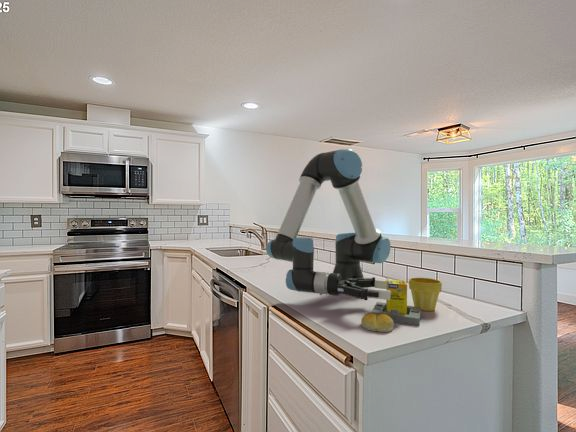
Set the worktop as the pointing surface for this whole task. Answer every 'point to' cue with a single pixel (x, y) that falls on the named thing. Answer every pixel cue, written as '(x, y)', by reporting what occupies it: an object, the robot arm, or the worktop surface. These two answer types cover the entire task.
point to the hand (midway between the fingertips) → (392, 290)
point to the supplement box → (397, 297)
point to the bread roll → (377, 322)
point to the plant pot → (425, 292)
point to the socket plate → (402, 318)
